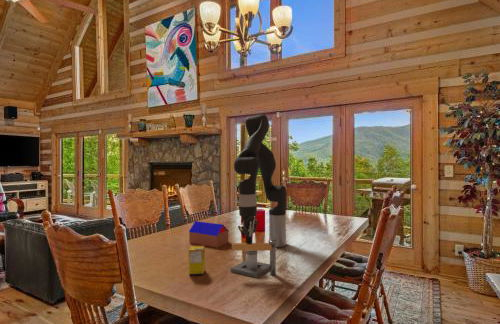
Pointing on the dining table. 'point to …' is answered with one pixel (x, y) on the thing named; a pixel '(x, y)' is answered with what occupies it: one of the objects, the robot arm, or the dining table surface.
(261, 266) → the socket collar
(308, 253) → the dining table surface
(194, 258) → the supplement box
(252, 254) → the plug
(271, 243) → the gate
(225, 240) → the house
